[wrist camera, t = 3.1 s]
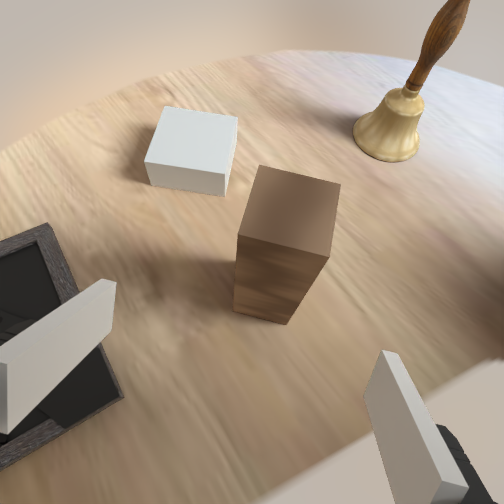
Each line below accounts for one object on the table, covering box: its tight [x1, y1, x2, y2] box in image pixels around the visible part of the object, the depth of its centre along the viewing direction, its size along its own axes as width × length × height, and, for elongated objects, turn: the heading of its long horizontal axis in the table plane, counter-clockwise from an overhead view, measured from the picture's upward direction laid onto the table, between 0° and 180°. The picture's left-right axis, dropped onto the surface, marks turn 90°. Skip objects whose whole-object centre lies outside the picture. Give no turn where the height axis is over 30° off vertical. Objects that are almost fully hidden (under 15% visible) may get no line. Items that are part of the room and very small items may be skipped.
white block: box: [144, 106, 238, 197], centre depth 36 cm, size 8×8×4 cm
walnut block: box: [233, 165, 341, 325], centre depth 25 cm, size 5×5×14 cm
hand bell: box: [353, 0, 470, 162], centre depth 35 cm, size 8×8×16 cm
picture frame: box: [0, 222, 124, 471], centre depth 27 cm, size 13×2×18 cm
